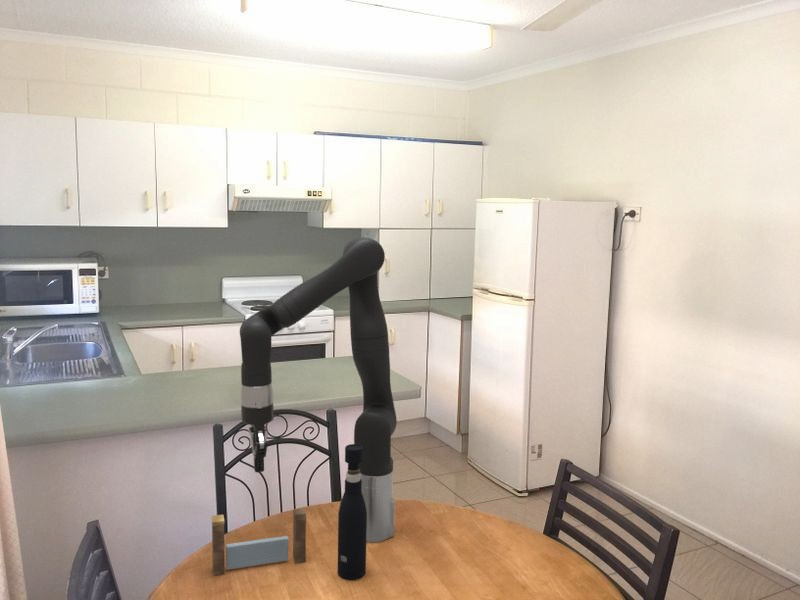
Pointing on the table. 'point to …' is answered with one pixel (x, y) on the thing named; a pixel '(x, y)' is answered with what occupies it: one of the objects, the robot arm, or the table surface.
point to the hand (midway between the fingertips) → (259, 470)
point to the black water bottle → (352, 520)
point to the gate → (256, 552)
